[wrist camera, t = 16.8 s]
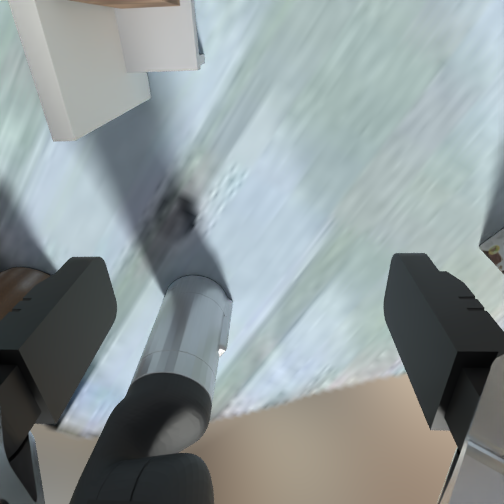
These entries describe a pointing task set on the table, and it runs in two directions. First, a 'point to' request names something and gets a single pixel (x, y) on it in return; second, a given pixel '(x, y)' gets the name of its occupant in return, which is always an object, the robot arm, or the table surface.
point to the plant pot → (17, 286)
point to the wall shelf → (100, 57)
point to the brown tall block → (132, 3)
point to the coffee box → (495, 249)
